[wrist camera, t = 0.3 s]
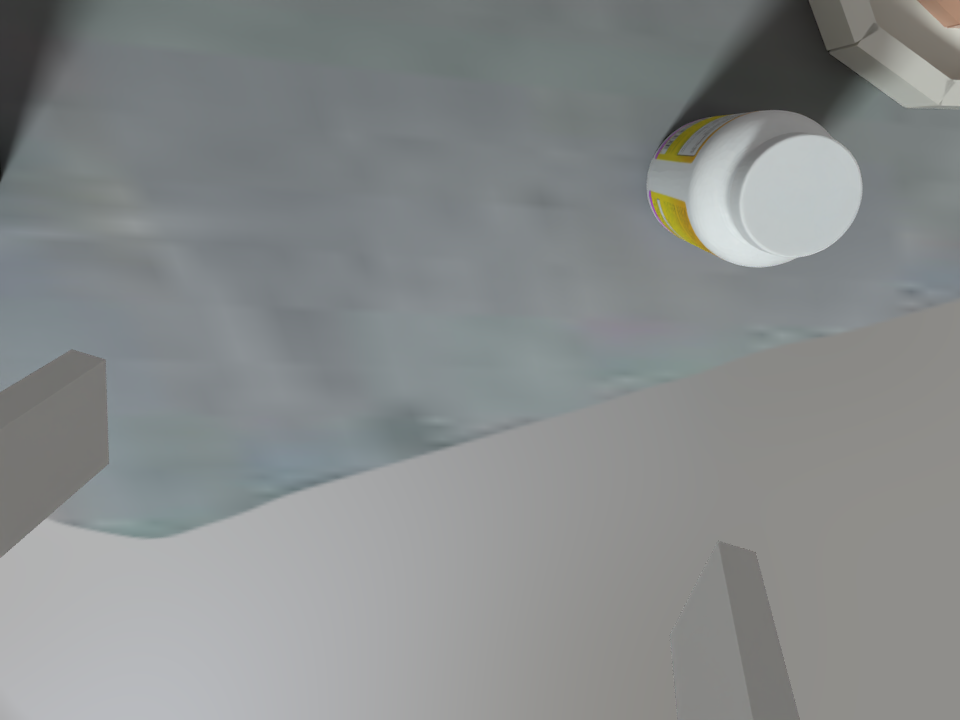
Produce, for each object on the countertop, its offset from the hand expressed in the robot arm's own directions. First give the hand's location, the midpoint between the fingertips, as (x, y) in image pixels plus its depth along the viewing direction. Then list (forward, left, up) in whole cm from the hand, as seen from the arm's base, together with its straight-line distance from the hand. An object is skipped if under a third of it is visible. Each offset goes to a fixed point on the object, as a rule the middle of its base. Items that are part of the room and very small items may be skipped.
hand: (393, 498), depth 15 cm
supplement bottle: (-5, +14, -27) cm, 31 cm away
